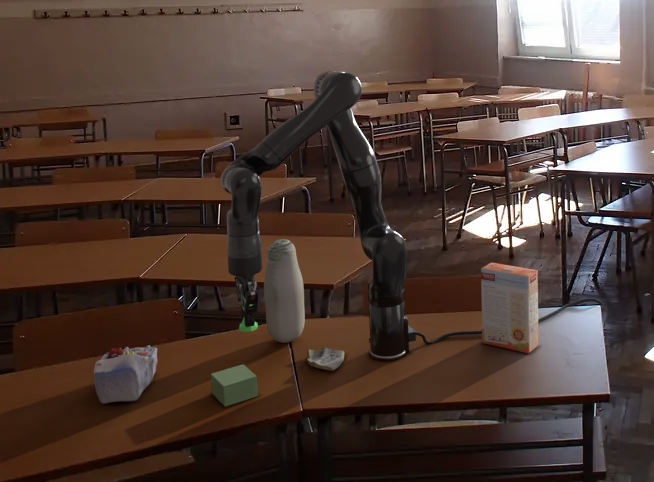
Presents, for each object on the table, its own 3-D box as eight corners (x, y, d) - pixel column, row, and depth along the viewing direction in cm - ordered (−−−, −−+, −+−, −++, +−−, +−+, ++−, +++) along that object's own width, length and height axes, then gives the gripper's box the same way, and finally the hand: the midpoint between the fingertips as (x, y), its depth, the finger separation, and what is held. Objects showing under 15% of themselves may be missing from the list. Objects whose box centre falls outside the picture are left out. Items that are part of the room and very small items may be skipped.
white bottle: (272, 332, 229) (266, 235, 224) (309, 332, 229) (304, 234, 224) (263, 348, 219) (256, 246, 215) (301, 348, 219) (295, 245, 214)
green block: (244, 383, 200) (243, 364, 199) (258, 396, 193) (256, 376, 193) (212, 393, 195) (210, 373, 194) (225, 406, 189) (223, 386, 188)
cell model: (87, 367, 186) (101, 333, 205) (91, 412, 188) (105, 374, 207) (148, 358, 189) (156, 326, 208) (152, 403, 191) (160, 367, 210)
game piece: (260, 329, 191) (259, 304, 190) (242, 333, 189) (240, 308, 188) (254, 322, 195) (253, 298, 194) (236, 326, 193) (235, 302, 192)
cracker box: (539, 346, 217) (538, 269, 213) (528, 354, 212) (528, 276, 208) (492, 335, 224) (491, 260, 221) (481, 343, 219) (480, 267, 216)
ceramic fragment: (309, 346, 216) (346, 343, 214) (312, 358, 216) (348, 355, 214) (294, 364, 205) (332, 362, 203) (296, 376, 206) (334, 374, 204)
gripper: (268, 257, 185) (272, 331, 187) (253, 241, 197) (257, 310, 200) (234, 263, 181) (238, 338, 184) (221, 246, 194) (225, 316, 196)
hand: (248, 323), depth 192 cm, fingers closed on game piece, 2 cm apart
